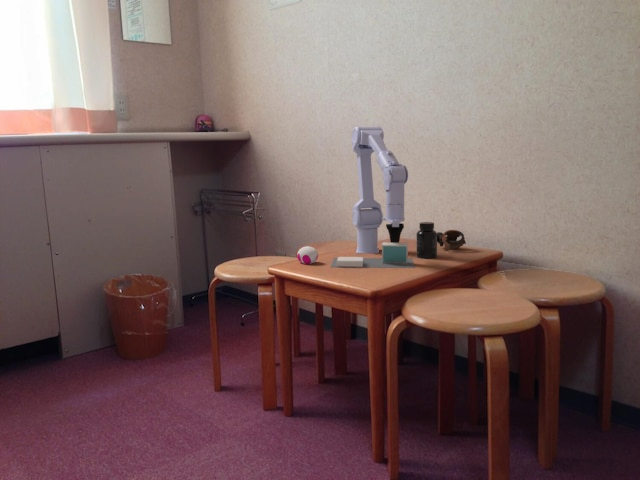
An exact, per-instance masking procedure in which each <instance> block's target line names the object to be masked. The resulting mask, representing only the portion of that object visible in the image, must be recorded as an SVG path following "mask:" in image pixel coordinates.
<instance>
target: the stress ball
mask: <svg viewBox="0 0 640 480" xmlns="http://www.w3.org/2000/svg"><path fill="white" fill-rule="evenodd" d="M296 256H297V260H298V261H299V263H301V264H304V265H312V264H314V263H315V262H317V260H318V259H319V253H318V251H317V249H316V248H314V247H312V246H308V245H307V246H303V247H301V248H300V249H299V250H297V254H296Z"/></svg>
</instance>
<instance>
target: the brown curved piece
mask: <svg viewBox="0 0 640 480" xmlns="http://www.w3.org/2000/svg"><path fill="white" fill-rule="evenodd" d="M436 232H437V231H436ZM460 237H461V238H460ZM458 238H460V239H458ZM465 239H466V238H465V234H464V233H463V232H461V231H460V230H456V229H449V230H446V231H445V232H444V233H443V232H441V231H439V232H437V244H439V247H444V248H443V251H445V252H446V251H448V252H449V251H450V250H455V249H460V248H461V247H463V246H464V245H466V244H467V243H466V240H465ZM459 247H460V248H459Z"/></svg>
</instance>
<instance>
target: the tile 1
mask: <svg viewBox="0 0 640 480" xmlns="http://www.w3.org/2000/svg"><path fill="white" fill-rule="evenodd" d="M337 258H338V259H337V266H338V267H337V268H341V267H363V258H364V256H337Z"/></svg>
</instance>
